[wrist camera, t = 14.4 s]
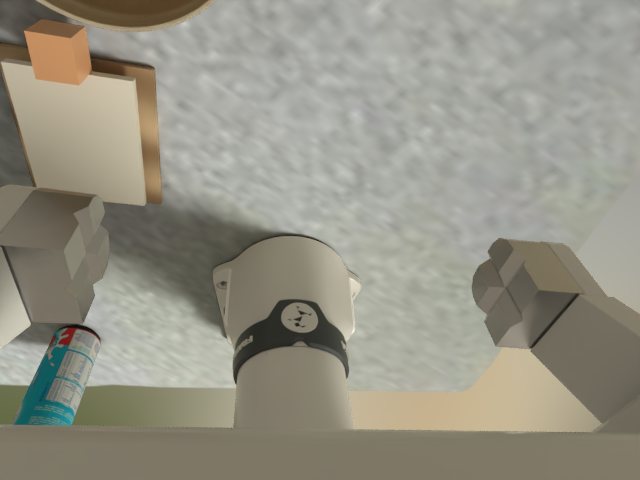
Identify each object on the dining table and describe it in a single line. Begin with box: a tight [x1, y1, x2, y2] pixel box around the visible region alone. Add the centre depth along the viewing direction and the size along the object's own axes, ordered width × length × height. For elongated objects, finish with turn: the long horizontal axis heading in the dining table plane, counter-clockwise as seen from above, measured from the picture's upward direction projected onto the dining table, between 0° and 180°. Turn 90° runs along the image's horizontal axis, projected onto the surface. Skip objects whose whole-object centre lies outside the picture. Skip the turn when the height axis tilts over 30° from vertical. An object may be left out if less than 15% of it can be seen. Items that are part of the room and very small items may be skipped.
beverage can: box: [11, 326, 101, 426], centre depth 53 cm, size 6×6×15 cm
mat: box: [0, 43, 162, 204], centre depth 39 cm, size 14×12×1 cm
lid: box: [1, 19, 146, 206], centre depth 36 cm, size 16×10×4 cm, turn 169°
